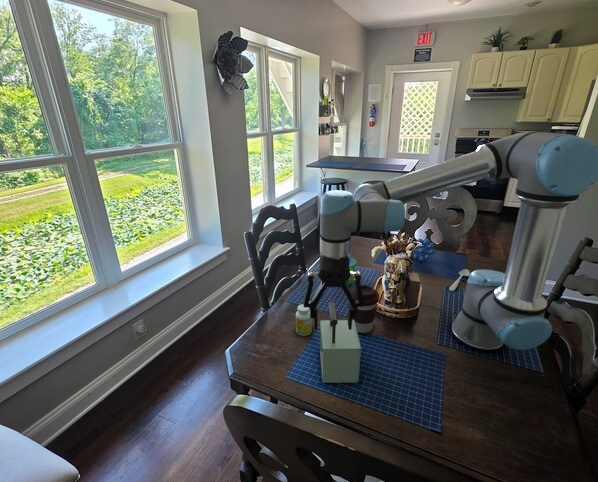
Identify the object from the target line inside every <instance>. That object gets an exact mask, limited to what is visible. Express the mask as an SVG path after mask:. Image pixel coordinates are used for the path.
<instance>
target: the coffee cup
mask: <svg viewBox="0 0 598 482" xmlns="http://www.w3.org/2000/svg"><path fill="white" fill-rule="evenodd" d="M360 285H361V290H362V296H363V302H364V306H363V307H358V310H357V312H356V318H352V320H354V322H355V326H356V330H357V333H361V334H366V333H369V332H371V331H372V330H373V326H374V322H375V319H376V312H377V309H378V308H377V307H378V303H379V301H380V293H379V291H378V290H376V289H375V288H374V287H373V286H371V285H368V284H360ZM350 291H351V293H352V295H353V297H354V299H355V301H356V300H358V297H357V292H356V287H355V286H354V287H352V288H350Z"/></svg>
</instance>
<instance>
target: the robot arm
mask: <svg viewBox="0 0 598 482" xmlns="http://www.w3.org/2000/svg"><path fill="white" fill-rule="evenodd" d="M499 179H516V180H517V181H516V188H515V193H514V195H515V196H516V197H517V198H518V200H519V201H520V204H519V209H518V213H517V219H516V223H515V228H514V232H513V237H512V241H511V245H510V250H509V254H508V259H507V263H506V266H505V267H506V268H505V271H504V272H502V271H498V270H491V269H475V270H474V271H472V272H470V275H469V276H468V279H467V281H466V286H465V287H466V288H465V292H464V297H463V301H462V307H461V310H460V312H459V313H458V314H457V315H456V313H455V314H454V315H453V317H452V321H451V322H452V323H451V335H452V336H453V337H454V338H455V339H456V340H457V341H458V342H459V343H461V344H462V345H464V346H466V347H468V348H470V349H473V350H476V351H480V352H487V353H488V352H489V353H490V352H496V351H499V350H500V349H502V348H503V346H504V345H505V346H506V347H508V348H509V349H512V350H515V351H526V350H531V349H535V348H537V347H539V346H540V345H542V344H544V343H546V341H547V340H549V338H550V337H551V335H552V332H553V327H552V324H551V323H550V321H549V320H548V319H547V318H545V313H546V310H547V308H548V307H547V306H548V301H547V299H546V297H544V296H543V293H544V289H545V285H546V282H547V279H548V274H549V271H550V268H551V264H552V261H553V257H554V254H555V250H556V246H557V244H558V243H557V242H558V238H559V237H560V232H561V229H562V225H563V221H564V218H565V214H566V210H567V208H568V207H569V206H570V205H572V204H574V203H575V202H578V200H579V198H580V195H581V194H583V193H585V192H587V191H589V190H590V189H591V186H592V185H595V184H596V183H597V182H598V146H597V144H596V143H595V142H594V141H593V140H590V139H588V138H586V137H582V136H579V135H574V134H569V133H558V132H548V131H542V130H541V131H539V130H528V131H523V132H519V133H515V134H512V135H509V136H505V137H502V138H499V139H496V140H493V141H490V142H487V143H484V144H482V145H481V144H480V145H479V146H478V147H477V149H476V150H475V151H473V152H469V153H467V154H463V155H461V156H460V155H459V156H457V157H454V158H451V159H448V160H446V161H441V162H440V163H436V164H433V165H431V166H427V167H424V168H421V169H418V170H415V171H412V172H409V173H406V174H402V175H399V176H397V177H393V178H391V179H388V180H384V181H382V182H378V183H375V184H372V183H363V184H360V185H359V186H357V187H356V188H355V189H354V191H353V193H352V192H351V191H348V190H340V189H339V190H338V189H335V190H334V189H333V190H328V191H325V192H324V193H323V194H322V195H321V197H320V209H319V234H320V235H319V269H318V271H312V270H308V271H307V283H306V284H307V285H306V289H305V292H304V296H303V304H304V307H305V308H307V307H308V308H310V317H311V318H312V319H313V320H314V321H313V325H314V327H313V329H314V331H318V304H319V302H320V300H321V298H322V297H323V295H324V294H325V292H326V291H327V290H328V289H329V288H341V289H342V291H343V292H344V294H345V296H346V298H347V300H348V302H349V303H348V306H347V307H348V309H347V320H348V328H349V330H352V318H356V312H357V310H358V307H363V306H364V302H363V296H362V290H361V285H362V284H361V281H362V274H361V271H360V270H357V269H356V270H355V271H354V272H352V271H350V269H349V265H350V257H351V255H350V254H351V241H352V240H351V239H352V233H390V232H400V231H401V230H402V229H403V227H404V225H405V222H406V221H405V220H406V209H405V204H408V203H412V202H414V201H415V202H416V201H419V200H421V199H424V198H427V197H431V196H435V195H438V194H440V193H444V192H448V191H450V190H453V189H457V188H460V187H462V186H466V185H469V184H473V183H476V182H479V181H482V180H485V181H487V182H492V181H495V180H499ZM350 276H351V277H352V279H353V280H354V287H356V292H357V297H358V300H356V301H355V299H354V297H353V295H352V293H351V291H350V290H351V288H349V285H347V284H346V281H347V280H348V279H349V278H350ZM318 278H319V279H320V284H319V286H318V287H317V289H316V291H315V292H314V294H313V296H312V292H313V287H314V282H315V281H316V280H317V279H318ZM311 296H312V298H311ZM455 317H456V318H455Z"/></svg>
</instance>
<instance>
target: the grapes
mask: <svg viewBox="0 0 598 482" xmlns="http://www.w3.org/2000/svg"><path fill="white" fill-rule="evenodd" d="M417 241H419V242H421V243H422V245H423V246H418V247H416V248H415V250H414V254H413V255H414V257H413V259H415V260H419V262H424V261H428V260H431V259H432V257H433V256H432V255H434V254H435V253H436V250H435V249H434V248H435V243H434V242H431V241H430V239H428V238H425V239H423V238H418V239H417V240H416V242H417Z"/></svg>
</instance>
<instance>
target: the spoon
mask: <svg viewBox="0 0 598 482" xmlns="http://www.w3.org/2000/svg"><path fill="white" fill-rule="evenodd" d="M458 274H459V275H460V276H459V277H458V278H457V279H456V280H455V281H454V282H453V283H452V285H450V286H449V288H448V290H449V291H450V292H454V291H455V290H456V289H457V288H458V285H459V283H460V280H461V279H462V277H469V276H470V274H471V271H470V270H469V269H467V268H464V269H462V270H460V271H459V272H458Z"/></svg>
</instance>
